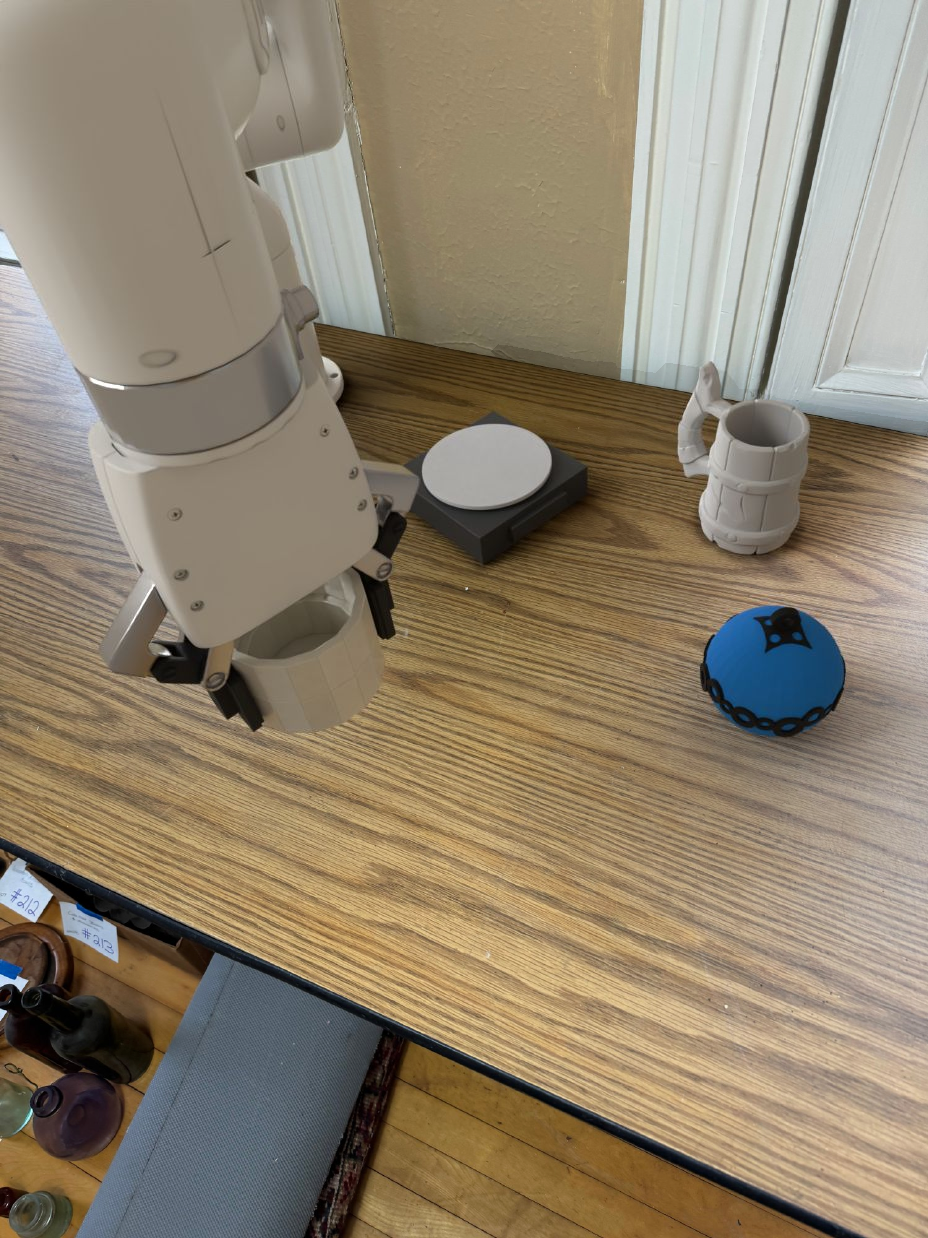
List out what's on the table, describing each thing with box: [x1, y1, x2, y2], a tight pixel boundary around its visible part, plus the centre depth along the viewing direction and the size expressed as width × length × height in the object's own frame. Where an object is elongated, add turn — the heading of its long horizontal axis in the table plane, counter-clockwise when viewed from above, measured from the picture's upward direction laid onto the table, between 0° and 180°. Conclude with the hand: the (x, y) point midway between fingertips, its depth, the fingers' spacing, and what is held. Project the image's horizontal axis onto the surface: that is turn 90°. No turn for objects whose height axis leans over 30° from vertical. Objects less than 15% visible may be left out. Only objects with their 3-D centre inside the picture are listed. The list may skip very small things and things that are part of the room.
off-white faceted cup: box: [231, 567, 386, 734], centre depth 43 cm, size 7×7×6 cm
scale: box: [402, 410, 589, 566], centre depth 73 cm, size 12×12×4 cm
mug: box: [677, 360, 811, 555], centre depth 66 cm, size 8×12×12 cm, turn 34°
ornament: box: [699, 604, 847, 738], centre depth 54 cm, size 9×9×10 cm
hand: (311, 665), depth 44 cm, fingers closed on off-white faceted cup, 7 cm apart
